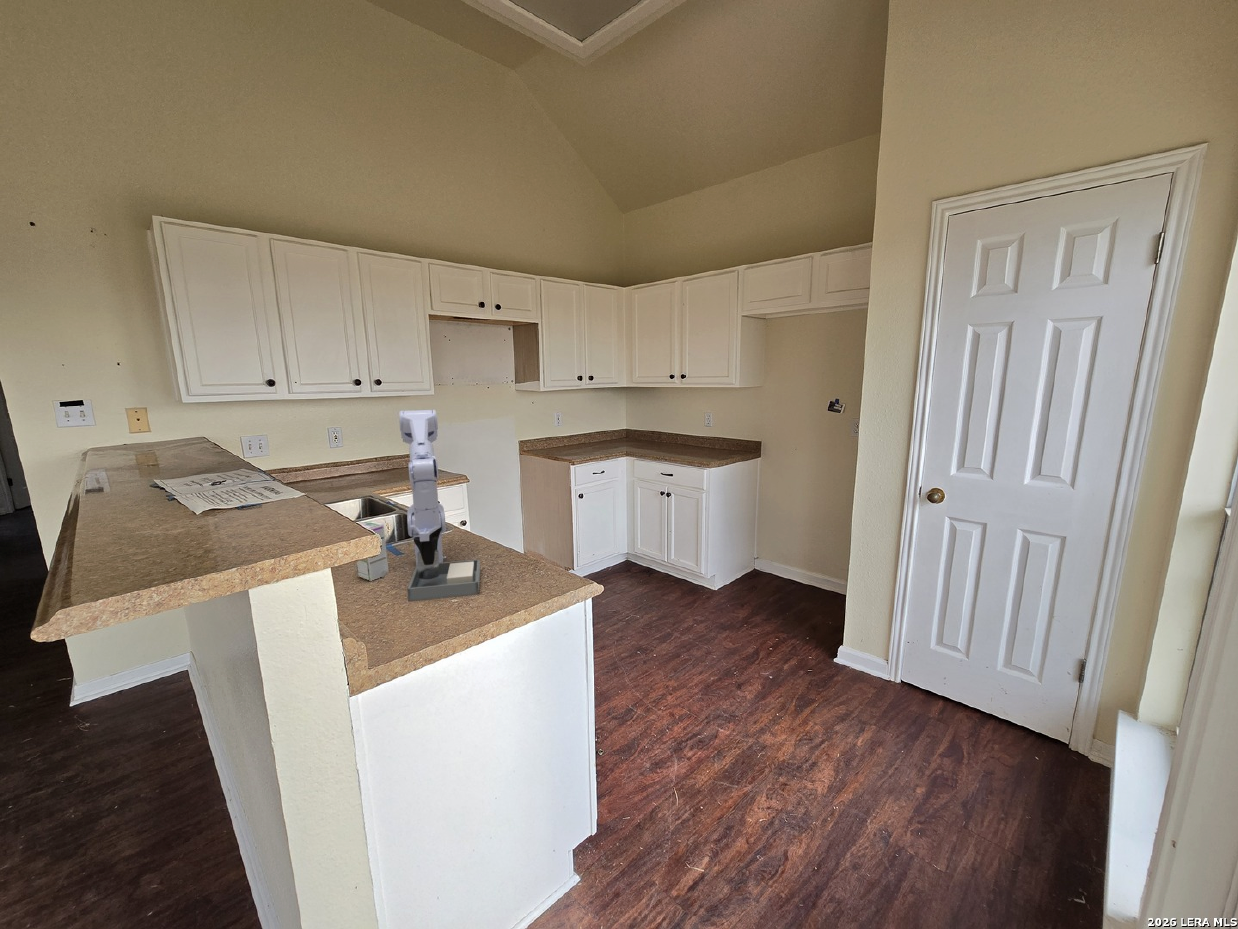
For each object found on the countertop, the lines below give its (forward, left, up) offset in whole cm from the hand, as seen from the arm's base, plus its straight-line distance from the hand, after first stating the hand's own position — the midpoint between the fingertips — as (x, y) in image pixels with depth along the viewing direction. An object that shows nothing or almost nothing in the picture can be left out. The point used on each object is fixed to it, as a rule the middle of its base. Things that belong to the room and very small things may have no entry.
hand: (430, 560), depth 130 cm
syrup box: (-13, -17, -8) cm, 22 cm away
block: (0, +7, -7) cm, 10 cm away
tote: (0, +3, -8) cm, 8 cm away
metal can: (0, -1, -4) cm, 4 cm away
